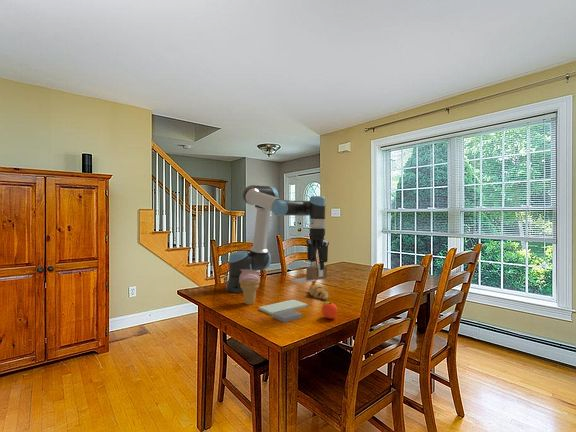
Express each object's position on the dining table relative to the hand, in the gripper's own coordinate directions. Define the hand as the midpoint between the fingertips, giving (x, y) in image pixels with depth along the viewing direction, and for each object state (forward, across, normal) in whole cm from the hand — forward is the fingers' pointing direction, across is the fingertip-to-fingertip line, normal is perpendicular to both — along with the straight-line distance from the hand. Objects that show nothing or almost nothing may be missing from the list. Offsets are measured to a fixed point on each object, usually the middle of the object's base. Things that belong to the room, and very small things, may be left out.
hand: (317, 275), depth 149 cm
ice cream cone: (+17, -28, -21) cm, 39 cm away
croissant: (+17, -17, +18) cm, 30 cm away
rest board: (+16, -11, -12) cm, 23 cm away
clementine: (+17, +13, -5) cm, 21 cm away
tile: (+16, +1, -14) cm, 21 cm away
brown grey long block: (+2, 0, -5) cm, 5 cm away
